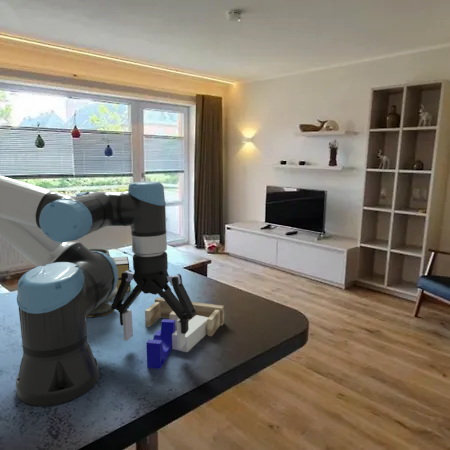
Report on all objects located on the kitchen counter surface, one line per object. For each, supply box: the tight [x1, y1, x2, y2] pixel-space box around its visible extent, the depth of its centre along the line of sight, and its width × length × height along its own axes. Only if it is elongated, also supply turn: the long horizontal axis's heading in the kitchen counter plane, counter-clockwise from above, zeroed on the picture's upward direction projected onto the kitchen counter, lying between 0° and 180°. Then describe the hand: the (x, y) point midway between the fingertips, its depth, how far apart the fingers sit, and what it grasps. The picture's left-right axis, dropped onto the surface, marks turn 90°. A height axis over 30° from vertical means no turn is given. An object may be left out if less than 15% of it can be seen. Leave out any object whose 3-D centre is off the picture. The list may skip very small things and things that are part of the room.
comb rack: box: [144, 297, 225, 337], centre depth 102 cm, size 8×20×5 cm, turn 72°
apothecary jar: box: [86, 248, 118, 318], centre depth 110 cm, size 12×12×18 cm
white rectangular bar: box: [171, 315, 209, 353], centre depth 94 cm, size 12×4×4 cm, turn 156°
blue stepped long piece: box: [146, 318, 175, 370], centre depth 87 cm, size 12×4×6 cm, turn 172°
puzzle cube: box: [112, 255, 132, 293], centre depth 129 cm, size 10×10×10 cm
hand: (154, 342), depth 87 cm, fingers open, 13 cm apart
